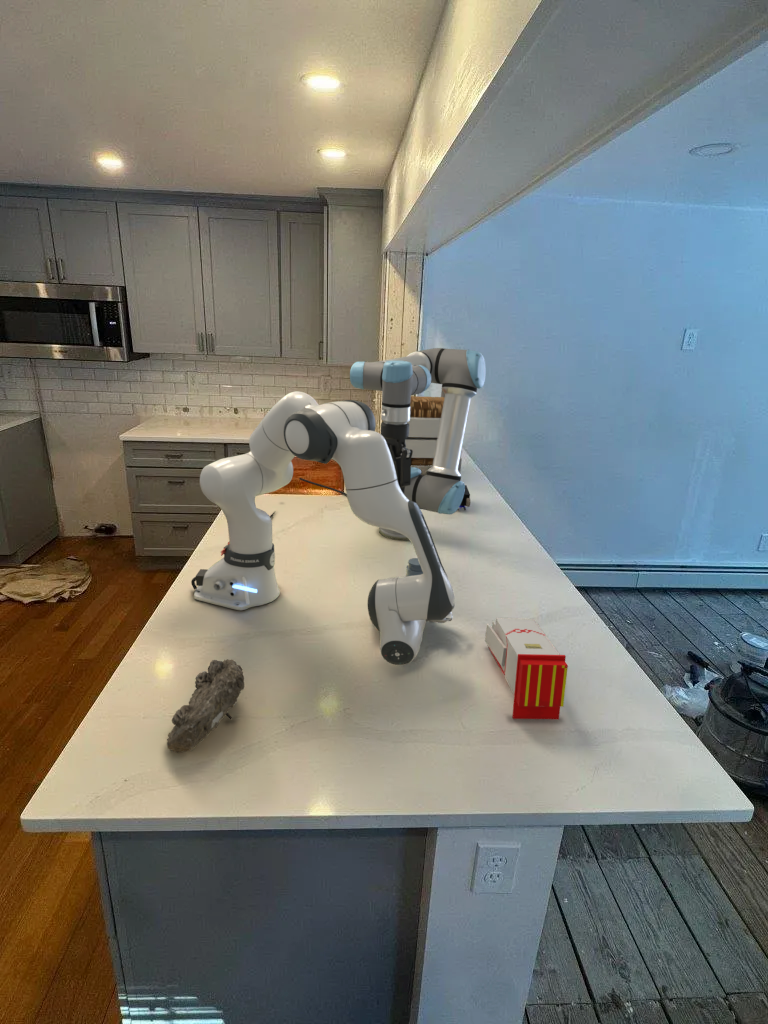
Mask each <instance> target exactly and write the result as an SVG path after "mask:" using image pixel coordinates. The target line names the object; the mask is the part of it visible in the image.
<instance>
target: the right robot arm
mask: <svg viewBox="0 0 768 1024" xmlns="http://www.w3.org/2000/svg"><path fill="white" fill-rule="evenodd" d="M486 368H487V367H486V359H485V356H484V355H483V354H482V353H481V352H480V351H478V350H470V349H457V348H444V347H433V348H428V349H423V350H422V349H421V350H417V351H413V352H410V353H409V354H407V356H401V357H396V358H395V357H394V358H390V359H384V360H378V361H377V360H376V361H365V360H364V361H355V362H354V363H353V364H352V365H351V367H350V370H349V381H350V384H351V386H352V387H353V388H355V389H359V390H363V391H365V390H366V391H367V390H369V391H378V392H381V415H380V416H381V417H380V420H381V423H380V434H381V435H382V436H383V437H384V438H385V440H386V443H387V445H388V448H389V450H390V453H391V456H392V459H393V462H394V466H395V470H396V475H397V480H398V484H399V486H400V489H401V491H402V492H403V494H404V495H405V496H406V498H407V499H408V500H410V501H413V502H415V503H416V504H417V505H418V506H419V508H420V510H423V511H427V512H434V513H437V514H439V515H442V514H444V515H453V514H455V513H456V512H457V511H458V510H457V509H460V508H459V506H460V504H461V502H462V499H463V496H464V492H465V485H466V484H465V482H464V481H462V474H460V473H459V472H458V466H459V460H460V455H461V456H462V453H461V449H462V450H463V445H464V444H463V443H464V437H465V433H466V427H467V421H468V415H469V410H470V404H471V401H472V398H473V397H475V396H476V395H477V393H478V389H479V390H481V389H482V388H483V387H484V385H485V382H486V375H487V369H486ZM431 384H436V385H441V391H442V390H443V392H444V393H445V398H444V403H443V409H442V415H441V420H440V426H439V432H438V437H437V443H436V449H435V454H434V460H433V465H431V466H430V467H429V468H428V469H427V470H426V473H425V474H422V470H421V468H419V467H415V466H411V457H412V453H413V451H412V449H410V450H408V449H407V448H406V443H405V439H406V438H407V437H408V436H409V423H407V422H409V421H410V402H411V396H415V395H419V394H422V393H424V392H425V391H427V390H428V389H429V388H430V386H431ZM398 457H400V458H398ZM299 480H300V481H302V482H305V483H308V484H311V485H314V486H318V487H321V488H324V489H327V490H330V491H334V492H336V493H339V494H342V495H343V496H345V497H347V493H346V492H344V491H342V490H339V489H336V488H333V487H330V486H328V485H324V484H321V483H318V482H313V481H311V480H308V479H305V478H302V477H299ZM378 533H379V534H380V535H381V536H382V537H385V538H387V539H389V540H395V541H410V540H409V539H408V538H407V537H406V536H404V535H403V534H401V533H398V532H396V531H392V530H389V529H384V528H379V527H378Z"/></svg>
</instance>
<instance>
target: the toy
mask: <svg viewBox="0 0 768 1024" xmlns="http://www.w3.org/2000/svg"><path fill="white" fill-rule="evenodd" d="M484 642H485V643H486V645H487V646H488V650H489V651H490V654H491V655H492V657H493V659H494V660H495V662H496V664H497V666H498V667H499V669H500V671H501V672H502V675H503V676H504V678H505V680H506V682H507V684H508V686H509V688H510V691H511V693H512V694H513V704H512V705H513V706H512V715H511V717H512V719H513V720H560V714H561V708H563V707H564V704H565V695H566V685H567V677H568V668H569V666H568V663H567V662H566V657H567V656H566V654H560V653H559V651H558V650H557V648H556V647H555V646H554V645H553V643H552V642H551V640H550V639H549V638H548V636H547V635H546V634H545V632H544V631H543V629H542V628H541V627H540V625H539V623H537V621H536V620H535V619H534V618H523V617H522V618H521V617H520V618H519V617H516V618H515V617H496V618H495V620H492V622H491V624H490V623H486V629H485V637H484Z"/></svg>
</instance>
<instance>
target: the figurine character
mask: <svg viewBox="0 0 768 1024" xmlns="http://www.w3.org/2000/svg"><path fill="white" fill-rule="evenodd" d="M466 507H468V508H470V507H471V493H470V491H469V488H468V486H467V485H466V484H465V492H464V496H463V499H462V502H461V504H460V506H459V508H458V509H457V511H459V510H460V509H463V511H465V512H466V511H467V508H466Z"/></svg>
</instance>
